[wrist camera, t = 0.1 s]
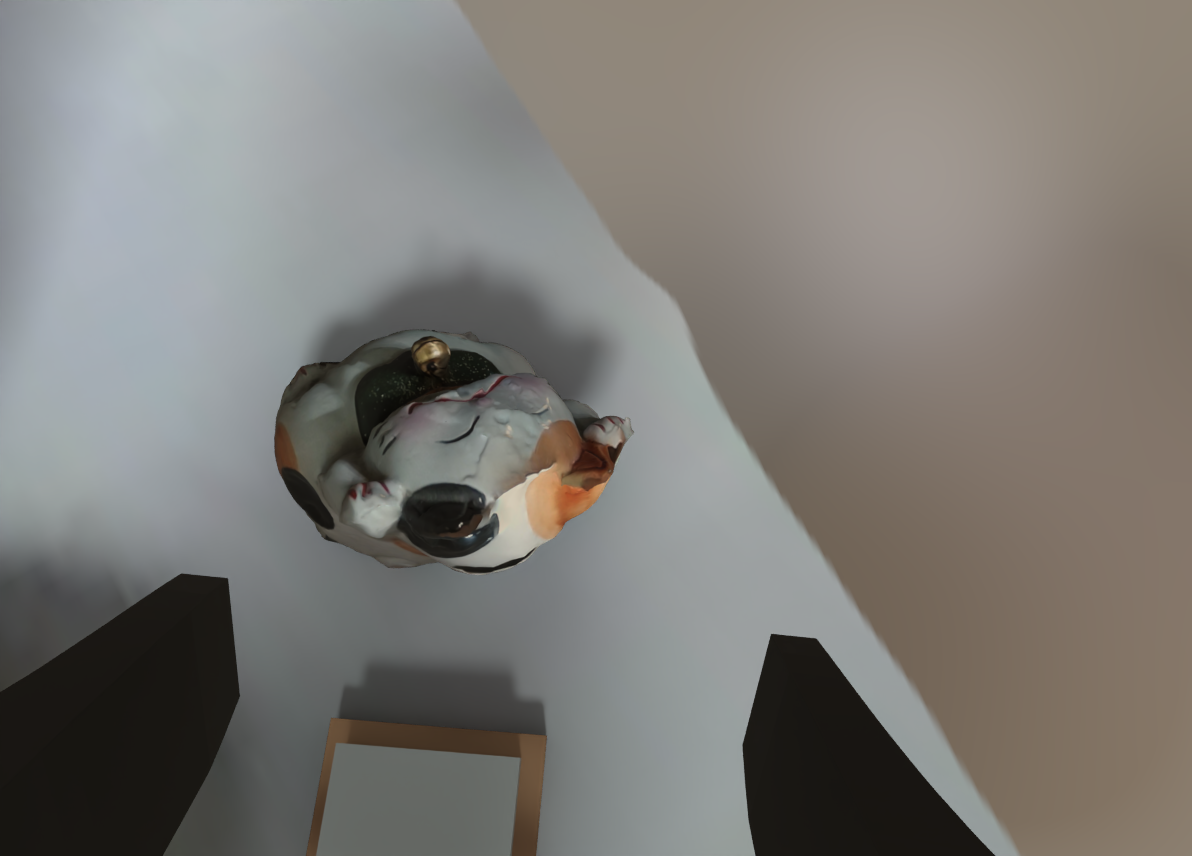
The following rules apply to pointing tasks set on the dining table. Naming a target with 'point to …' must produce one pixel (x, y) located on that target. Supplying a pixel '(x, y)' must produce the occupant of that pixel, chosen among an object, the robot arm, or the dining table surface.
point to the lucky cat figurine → (440, 452)
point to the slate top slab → (418, 803)
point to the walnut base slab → (446, 741)
